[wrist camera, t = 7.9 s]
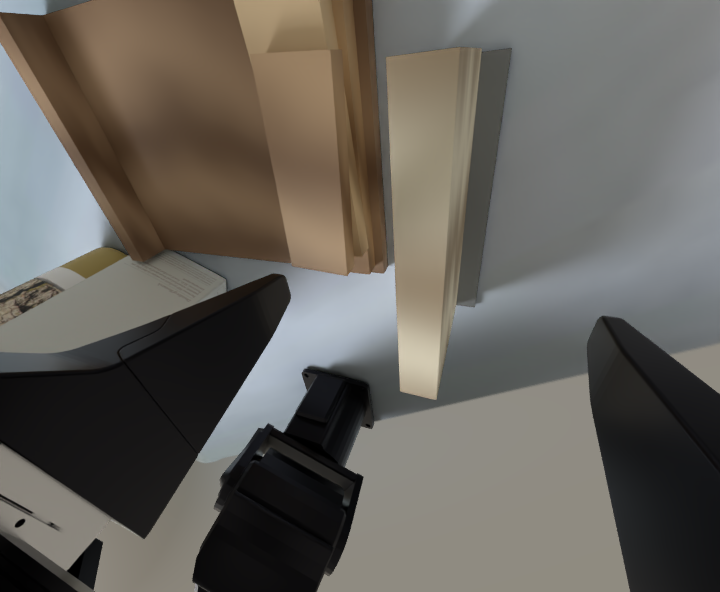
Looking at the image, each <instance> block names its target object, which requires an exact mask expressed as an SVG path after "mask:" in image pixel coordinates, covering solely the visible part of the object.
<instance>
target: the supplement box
mask: <svg viewBox="0 0 720 592" xmlns="http://www.w3.org/2000/svg"><path fill="white" fill-rule="evenodd" d="M225 292H226V279H224V278H223V277H221V276H219V275H217V274H215V273H214V272H212V271H210V270H208V269H206V268H204V267H202V266H200V265H199V264H197V263H195V262H193V261H191V260H189V259H187V258H186V257H184V256H182V255H180V254H178V253H176V252H174V251H172V250H166V249H165V250H163V251H162V252H160V253H158V254H156V255H155V256H153V257H151V258H149V259H148V260H146V261H144V262H140V261H133V260H132V259H131V257H130V255H128V256H127V257H125V258H123V259H121V260H119V261H118V262H116V263H114V264H112V265H110V266H108V267H107V268H105V269H103V270H101V271H99V272H98V273H96V274H94V275H92V276H90V277H88V278H87V279H85V280H83V281H81V282H79V283H78V284H76V285H74V286H72V287H70V288H69V289H67V290H65V291H63V292H61V293H59V294H58V295H56V296H54V297H52V298H50V299H48V300H47V301H45V302H43V303H41V304H39V305H38V306H36V307H34V308H32V309H30V310H28V311H27V312H25V313H23V314H21V315H19V316H18V317H16V318H14V319H12V320H10V321H8V322H7V323H5V324H3V325H1V326H0V352H12V353H57V352H63V351H68V350H72V349H75V348H79V347H81V346H84V345H87V344H90V343H93V342H96V341H99V340H102V339H105V338H107V337H110V336H113V335H116V334H119V333H122V332H125V331H127V330H130V329H133V328H136V327H139V326H141V325H144V324H147V323H149V322H152V321H154V320H157V319H160V318H162V317H165V316H167V315H171V314H172V313H175V312H177V311H180V310H182V309H185V308H187V307H190V306H192V305H195V304H197V303H200V302H202V301H205V300H207V299H210V298H213V297H215V296H218V295H220V294H223V293H225Z"/></svg>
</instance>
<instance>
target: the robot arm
mask: <svg viewBox="0 0 720 592" xmlns="http://www.w3.org/2000/svg"><path fill="white" fill-rule="evenodd" d="M290 299H291V294H290V290H289V287H288V283H287V280H286V277H285V276H284V275H281V274H270V275H268V276H265V277H263V278H260V279H258V280H255V281H253V282H250V283H248V284H245V285H243V286H240V287H238V288H235V289H233V290H230V291H228V292H225V293H223V294H220V295H218V296H215V297H213V298H210V299H207V300H205V301H202V302H200V303H197V304H195V305H192V306H190V307H187V308H185V309H182V310H180V311H177V312H175V313H172V314H171V315H167V316H165V317H162V318H160V319H157V320H154V321H152V322H149V323H147V324H144V325H141V326H139V327H136V328H133V329H130V330H127V331H125V332H122V333H119V334H116V335H113V336H110V337H107V338H105V339H102V340H99V341H96V342H93V343H90V344H87V345H84V346H81V347H79V348H75V349H72V350H68V351H63V352H57V353H12V352H0V592H95V591H93V590H94V585H95V580H96V575H97V570H98V565H99V560H100V555H101V550H102V545H103V542H102V541H100V540H98V539H97V538H96V537H97V536H98V534H99V533H100V532H101V531H102V530H103V528H104V527H105V526H106V525H107V524H108V523H109V521H110V520H111V521H113V522H115V523H116V524H118V525H120V526H122V527H123V528H125V529H127V530H129V531H130V532H132V533H134V534H136V535H137V536H139V537H141V538H143V539H145V538H146V536H147V535H148V534H149V532H150V531H151V529H152V528H153V526H154V525H155V523H156V522H157V520H158V518H159V517H160V515H161V514H162V512H163V510H164V509H165V507H166V506H167V504H168V502H169V501H170V499H171V498H172V496H173V494H174V493H175V491H176V490H177V488H178V486H179V485H180V483H181V481H182V480H183V478H184V477H185V475H186V474H187V472H188V471H189V469H190V467H191V466H192V464H193V463H194V461H195V459H196V458H197V456H198V454H199V453H200V451H201V450H202V448H203V446H204V445H205V443H206V442H207V440H208V438H209V437H210V435H211V434H212V432H213V431H214V429H215V427H216V426H217V424H218V423H219V421H220V419H221V418H222V416H223V415H224V413H225V411H226V410H227V408H228V407H229V405H230V403H231V402H232V400H233V399H234V397H235V396H236V394H237V392H238V391H239V389H240V388H241V386H242V384H243V383H244V381H245V380H246V378H247V376H248V375H249V373H250V372H251V370H252V368H253V367H254V365H255V364H256V362H257V361H258V359H259V357H260V356H261V354H262V353H263V351H264V349H265V348H266V346H267V345H268V343H269V341H270V340H271V338H272V336H273V334H274V333H275V331H276V329H277V327H278V325H279V323H280V320H281V318H282V316H283V314H284V312H285V310H286V308H287V306H288V304H289V302H290ZM587 359H588V374H589V389H590V402H591V408H592V414H593V418H594V423H595V427H596V432H597V437H598V442H599V446H600V451H601V456H602V461H603V466H604V470H605V475H606V480H607V484H608V489H609V494H610V498H611V503H612V508H613V513H614V517H615V522H616V527H617V532H618V536H619V541H620V546H621V550H622V555H623V559H624V564H625V569H626V574H627V579H628V584H629V588H630V592H720V394H719V393H717V392H716V391H715V390H713V389H712V388H711V387H710V386H708V385H707V384H706V383H704V382H703V381H702V380H701V379H699V378H698V377H697V376H695V375H694V374H693V373H691V372H690V371H689V370H688V369H686V368H685V367H684V366H683V365H681V364H680V363H679V362H677V361H676V360H675V359H674V358H672V357H671V356H670V355H668V354H667V353H666V352H665V351H663V350H662V349H661V348H659V347H658V346H657V345H656V344H654V343H653V342H652V341H650V340H649V339H648V338H647V337H645V336H644V335H643V334H641V333H640V332H639V331H638V330H636V329H635V328H634V327H632V326H631V325H630V324H629V323H627V322H626V321H625V320H623V319H621V318H617V317H609V316H601V317H599V319H598V320H597V322H596V324H595V326H594V328H593V331H592V333H591V335H590V337H589V340H588V343H587ZM302 376H303V380H304V383H305V386H306V389H307V393H306V394H305V396H304V398H303V399H302V401H301V403H300V404H299V406H298V408H297V409H296V412H295V414H294V416H293V417H292V419H291V421H290V422H289V424H288V426H287V428H286V429H285V431H284V433H282V432H281V431H279V430H277V429H275V428H274V426H272V425H271V424H269V423H268V424H267V425H266V427H265V428H264V429H263V428H258V430H257V431H256V433H255V434H254V436H253V437H252V439H251V440H250V442H249V443H248V444H247V446H246V447H245V448H244V450H243V451H242V452H241V453H240V454H239V455H238V457H237V458H236V459H235V460H234V461H233V463H232V464H231V465H230V466H229V467H228V468H227V470H226V471H225V472H224V473H223V475H222V476H221V478H220V486H221V490H220V492H219V494H218V499H217V501H216V503H215V505H214V509H215V510H217V511H218V512H220V514H219V516H218V517H217V519H216V521H215V522H214V524H213V526H212V528H211V529H210V531H209V533H208V534H207V536H206V538H205V540H204V541H203V543H202V545H201V547H200V551H199V554H198V556H197V558H196V563H195V568H194V573H193V580H192V581H193V583H195V591H194V592H317V589H318V587H319V585H320V582H321V580H322V578H323V575H324V574H326V575H327V576H330V575H331V574H332V572H333V571H334V569H335V567H336V566H337V563H338V561H339V559H340V557H341V555H342V552H343V550H344V547H345V545H346V542H347V539H348V536H349V532H350V529H351V524H352V521H353V517H354V513H355V509H356V505H357V501H358V497H359V493H360V489H361V485H362V481H363V476H362V475H360V474H358V473H357V474H355V473H354V472H352V471H350V470H348V469H346V468H345V465H346V463H347V460H348V458H349V455H350V452H351V450H352V447H353V445H354V442H355V440H356V437H357V435H358V432H359V430H360V427H361V426H362V427H366V428H369V429H372V428H373V425H374V419H373V411H372V404H371V396H370V389H369V385H368V384H366V383H364V382H361V381H357V380H352V379H348V378H344V377H340V376H336V375H332V374H327V373H323V372H319V371H315V370H311V369H304V370H303V372H302ZM263 454H265V455H264V457H262V456H263Z"/></svg>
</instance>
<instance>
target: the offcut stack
mask: <svg viewBox="0 0 720 592" xmlns="http://www.w3.org/2000/svg"><path fill="white" fill-rule="evenodd" d="M233 1H234V4H235V8H236V11H237V15H238V19H239V22H240V26H241V29H242V33H243V36H244V40H245V43H246V47H247V50H248V54H249V57H250V61H251V64H252V68H253V72H254V77H255V82H256V87H257V92H258V97H259V102H260V107H261V112H262V117H263V122H264V127H265V132H266V137H267V142H268V147H269V152H270V157H271V162H272V167H273V172H274V177H275V183H276V188H277V193H278V198H279V203H280V208H281V213H282V218H283V223H284V228H285V233H286V238H287V243H288V248H289V253H290V258H291V263H292V266H294V267H300V268H306V269H311V270H317V271H322V272H328V273H333V274H339V275H344V276H348V274H349V273H350V272H353V273H362V274H370V273H371V272H372V270H373V268H374V267H375V256H374V244H373V232H372V221H371V209H370V197H369V186H368V174H367V163H366V151H365V139H364V128H363V116H362V104H361V93H360V81H359V69H358V58H357V46H356V35H355V23H354V11H353V0H233Z"/></svg>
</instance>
